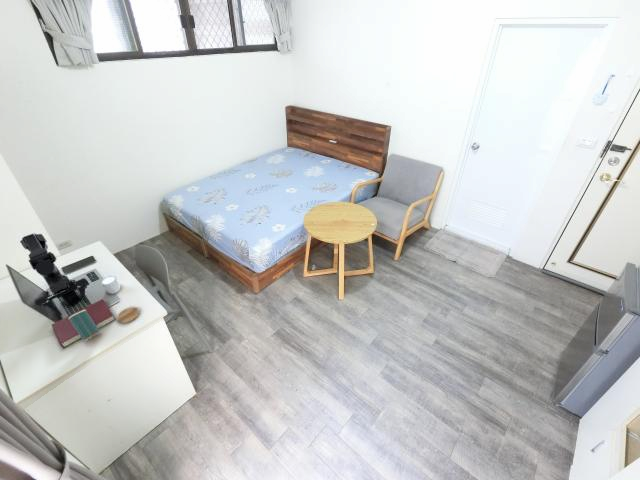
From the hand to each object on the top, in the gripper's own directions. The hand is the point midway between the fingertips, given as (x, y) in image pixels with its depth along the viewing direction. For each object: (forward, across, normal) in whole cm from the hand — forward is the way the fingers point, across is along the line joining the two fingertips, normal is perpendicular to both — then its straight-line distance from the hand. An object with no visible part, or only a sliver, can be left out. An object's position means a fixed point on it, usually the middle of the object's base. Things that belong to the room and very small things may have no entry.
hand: (74, 308), depth 131 cm
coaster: (+14, +16, +4) cm, 21 cm away
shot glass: (-3, +17, +21) cm, 27 cm away
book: (+7, 0, +11) cm, 13 cm away
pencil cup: (+13, 0, +5) cm, 14 cm away
